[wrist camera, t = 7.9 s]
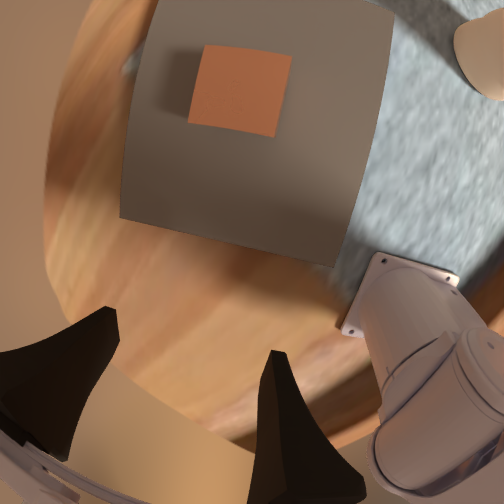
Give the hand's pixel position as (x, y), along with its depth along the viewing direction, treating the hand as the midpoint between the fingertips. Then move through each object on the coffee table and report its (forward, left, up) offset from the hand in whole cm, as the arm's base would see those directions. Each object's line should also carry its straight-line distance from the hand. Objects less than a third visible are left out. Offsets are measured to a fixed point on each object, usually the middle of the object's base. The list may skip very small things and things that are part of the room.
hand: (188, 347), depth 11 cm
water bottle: (-17, -22, -11) cm, 29 cm away
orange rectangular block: (0, -11, -11) cm, 15 cm away
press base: (0, -11, -10) cm, 15 cm away
